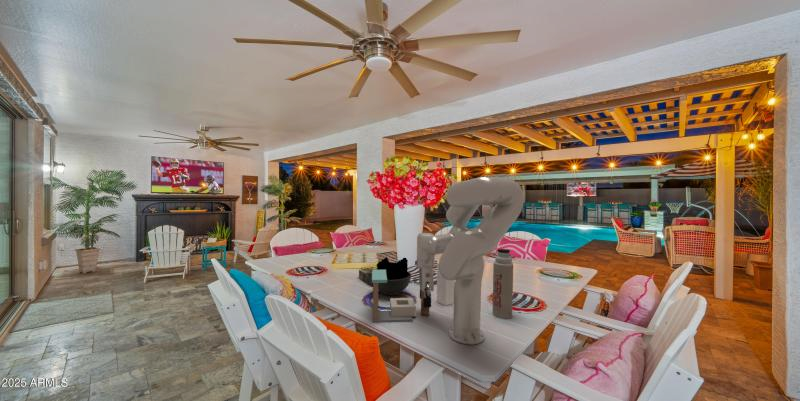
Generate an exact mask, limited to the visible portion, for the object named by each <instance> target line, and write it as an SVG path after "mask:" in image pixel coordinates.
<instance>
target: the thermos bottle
mask: <svg viewBox="0 0 800 401" xmlns="http://www.w3.org/2000/svg"><path fill="white" fill-rule="evenodd" d="M510 251H511V250H510V249H508V248H507V249H506V248H498V249H497V255H496V256H495V258H494V259H495V260H494V261H493V263H492V264H493V269H492V270H493V273H492V274H493V275H492V276H493V277H492V282H493V283H492V315H493V316H494V317H496V318H498V319H506V320H507V319H512V317H513V303H514V302H513V295H514V292H513V291H514V262H513V260H512V259H513V258H512V257H511V256H510Z"/></svg>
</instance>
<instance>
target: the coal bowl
mask: <svg viewBox="0 0 800 401" xmlns="http://www.w3.org/2000/svg"><path fill="white" fill-rule="evenodd" d="M408 263H409V261H408V258H407V257H403V258H402V259H400V260H399V259H398V261H397V262H390V260H389V258H388V257H387V256H386V257H385V258H382V259H381V260H380V261H378V262H377V263H376V265H375V266H376V270H386V275H387V283H378V292H380V293H383V294H384V295H387V294H388V295H389V296H395V295H399V294H401V293H403V292H404V291H406V289H407V287H408V286H409V284H410V282H411V278H412V274H411V272H409V271H408V268H409V267H408ZM398 293H399V294H398ZM394 294H395V295H394ZM388 295H387V296H388Z"/></svg>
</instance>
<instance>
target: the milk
mask: <svg viewBox="0 0 800 401" xmlns="http://www.w3.org/2000/svg"><path fill="white" fill-rule="evenodd" d="M436 264H437V265H436V267H437V268H436V303H439V304H441V305H443V306H446V307H447V306H449V305H454V285H455V280H447V279H445V278H444V277H442V275H441V274H440V272H439V260H438V261H437V263H436Z"/></svg>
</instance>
